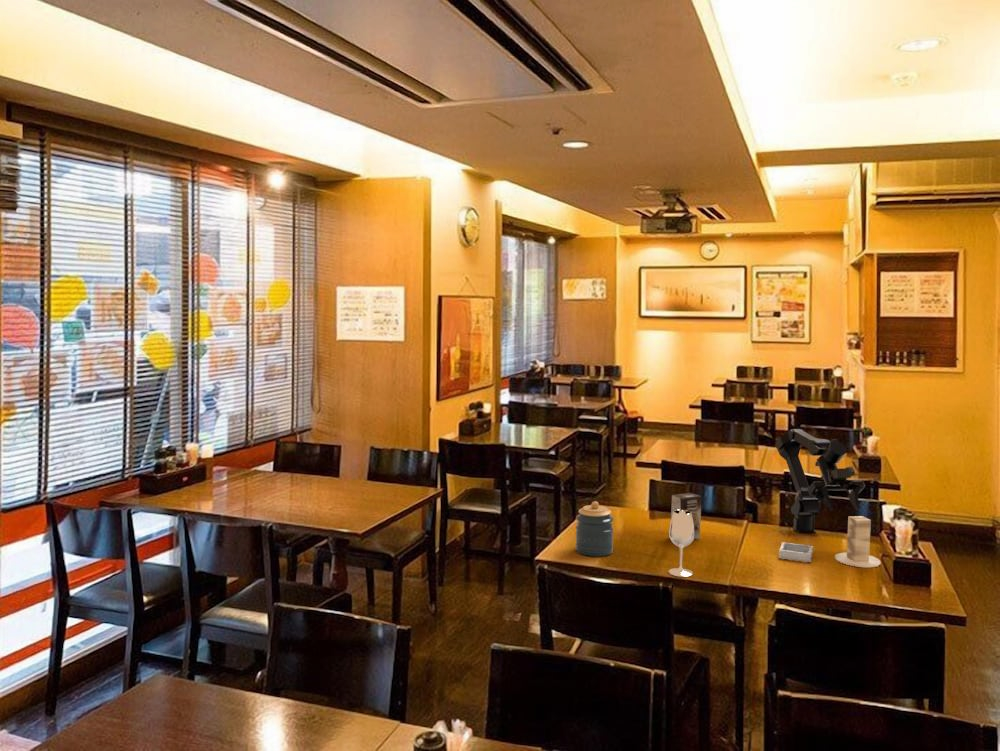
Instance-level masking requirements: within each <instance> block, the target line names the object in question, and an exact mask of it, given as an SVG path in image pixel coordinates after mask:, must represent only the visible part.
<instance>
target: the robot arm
mask: <svg viewBox="0 0 1000 751" xmlns="http://www.w3.org/2000/svg"><path fill="white" fill-rule="evenodd" d="M802 446H803V447H805V448H806V449H807V452H808V453H809V455H811V456H813V457H818V458H816V461H815V464H814V466H815V467H818V468H819V470H820V474H821V476H820V479H821V480H814V481H813V482H812V483H811V484H810V485H809V483H808V480H807V477H806V474H805V472H804V468H803V465H802V463H801V462H802V461H801V459H800V457H799V455H800V453H801V447H802ZM775 449H777V452H778V454H779V456H780V457H781V458H782V459H784V460H785V461H786V465H787V468H788V470H789V473H790V477H791V480H792V483H793V485H794V488H795V492H796V494H795V497H794V503H793V505H792V506H791V508H790V511H791V514H792V515H794V517H793V526H792V530H795V531H796V532H797V533H800V534H806V533H807V534H810V533H809V532H816V533H817V531H816V530H815V517H819V514H820V511H821V507H822V504H821V503H823V505H825V506H826V507H827V508H828V509H829V510H830V511H833V509H834V507H833V503H832V500H831V499H830V495H829V494H828V493H829V491H846V494H847V497H848V499H849V501H850V503H851V504H852V507H853V508H854V509H855V510H856V511H857V510H858V509H859V496H860V495H859V494H860V493H861V492H862V491H863V490H865V488H866V484H865V482H864V481H863V480H861V479H860V480H856V479H855V480H851V481H850V482H849V483H848V484H845V483H846V482H847V480H848V479H851V478H852V477H853V476H856V472H855V469H854V467H853V466H847V467H845V468H844V467H843V468H838V466H837V464H838V463H840V461H841V460H842V458H843V457H844V456H845V455H846V454H847V450H848V449H847V446H845V444H843V443H842V442H839V440H838V439H837V438H835V439H831V440H829V439H825V438H817V437H816V436H813V435H811V434H810V433H807V432H806V431H804V430H803V429H802V428H801V429H800V428H792V429H789V430H788V431H787V432H786V433H784V434H782V435H781V436H779V437H778V439H777V440H776V442H775Z"/></svg>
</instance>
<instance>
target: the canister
mask: <svg viewBox="0 0 1000 751" xmlns="http://www.w3.org/2000/svg"><path fill="white" fill-rule="evenodd" d="M578 513H579V514H578V515H576V517H575V520H576V522H577V524H576V525H575V530H576V531H575V532H576V533H575V551H576V552H577V553H578V554H580V555H582V554H583V555H582V556H586V555H589V556H588V557H606V556H609V555H610V554H612V553H613V550H614V544H613V543H614V529H615V528H614V526H613V522H614V520H615V519H614V517H613V516H612V511H611V510H610V509H608V507H606V506H603V505H600V503H599V502H598V501H596V500H595V501H592V502H591V504H590V505H589V504H588V505H585V506H583V507H582V508H580V509H578Z"/></svg>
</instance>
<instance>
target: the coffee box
mask: <svg viewBox="0 0 1000 751" xmlns="http://www.w3.org/2000/svg"><path fill="white" fill-rule="evenodd" d="M675 510H688V511H690V512H691V514H692V519H693V525H694V539H696V540H700V539H701V518H702V517H701V515H702V496H701V495H700V494H696V493H692V492H688V493H678V494H671V511H670V513H671V514H670V520H671V519H672V515H673V512H674V511H675ZM694 539H693V541H695V540H694Z"/></svg>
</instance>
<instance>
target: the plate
mask: <svg viewBox="0 0 1000 751" xmlns="http://www.w3.org/2000/svg"><path fill="white" fill-rule="evenodd" d="M846 556H847V551H846V552H840V553H836V554H835V555H834V559H835V561H837V562H838V563H841V564H842V563H843V565H845V564H846V566H849V565H850V566H849V567H854V566H855V567H856V568H866V569H867V568H869V569H870V568H877V567H879V565H880V566H881V565H882V564H881V560H880V559H879V558H878V557H875V556H873V555H870V554H869V561H860V562H855V561H853V560H851V559H849V558H847V557H846Z"/></svg>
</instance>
